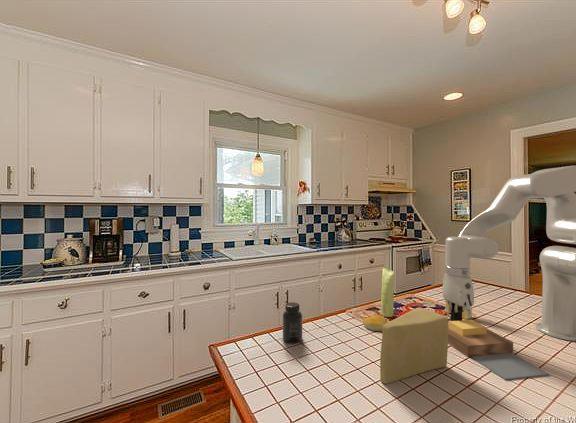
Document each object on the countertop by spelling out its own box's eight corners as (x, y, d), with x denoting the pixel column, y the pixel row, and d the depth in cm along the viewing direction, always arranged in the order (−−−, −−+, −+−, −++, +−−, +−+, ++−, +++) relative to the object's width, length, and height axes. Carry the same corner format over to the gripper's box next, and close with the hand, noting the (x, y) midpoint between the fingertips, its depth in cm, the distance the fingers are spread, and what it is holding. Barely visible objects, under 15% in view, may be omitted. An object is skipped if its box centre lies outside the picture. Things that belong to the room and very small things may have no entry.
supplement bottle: (305, 336, 95) (305, 302, 94) (297, 345, 88) (297, 309, 88) (287, 332, 97) (287, 299, 97) (279, 341, 91) (279, 306, 91)
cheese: (398, 395, 66) (399, 334, 65) (367, 373, 74) (368, 319, 74) (449, 367, 77) (449, 315, 76) (417, 351, 85) (418, 304, 85)
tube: (396, 314, 114) (396, 268, 114) (393, 318, 110) (394, 271, 109) (382, 311, 117) (382, 267, 117) (379, 315, 113) (379, 269, 112)
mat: (511, 354, 84) (511, 352, 84) (549, 375, 73) (549, 373, 73) (471, 357, 82) (471, 356, 82) (505, 380, 71) (505, 378, 71)
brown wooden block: (475, 332, 98) (475, 322, 98) (512, 353, 84) (513, 342, 84) (435, 335, 96) (435, 325, 96) (467, 357, 82) (468, 345, 82)
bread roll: (358, 325, 104) (359, 315, 104) (375, 320, 109) (375, 310, 108) (375, 334, 97) (375, 323, 97) (392, 328, 101) (392, 318, 101)
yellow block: (471, 325, 96) (471, 319, 96) (486, 333, 90) (486, 327, 90) (448, 327, 94) (449, 321, 94) (462, 335, 88) (462, 329, 88)
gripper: (484, 276, 90) (483, 330, 90) (451, 266, 104) (450, 313, 105) (464, 277, 88) (463, 332, 89) (433, 267, 103) (432, 314, 104)
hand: (456, 321), depth 97 cm, fingers closed
